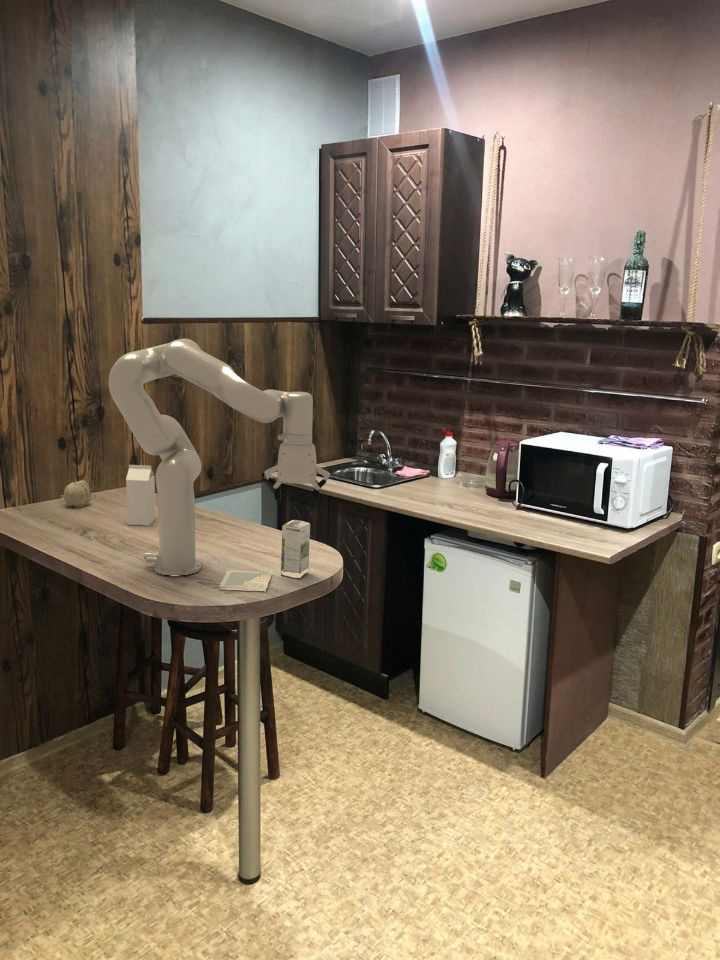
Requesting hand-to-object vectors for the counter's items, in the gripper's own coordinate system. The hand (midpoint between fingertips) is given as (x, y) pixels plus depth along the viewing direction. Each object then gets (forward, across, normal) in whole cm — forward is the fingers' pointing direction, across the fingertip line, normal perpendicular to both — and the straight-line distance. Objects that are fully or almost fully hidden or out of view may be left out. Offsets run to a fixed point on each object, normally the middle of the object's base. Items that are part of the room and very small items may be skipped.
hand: (296, 502), depth 211 cm
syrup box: (+20, 0, 0) cm, 20 cm away
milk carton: (+20, -54, +42) cm, 72 cm away
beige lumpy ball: (+20, -81, +58) cm, 102 cm away
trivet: (+20, -12, -8) cm, 25 cm away
